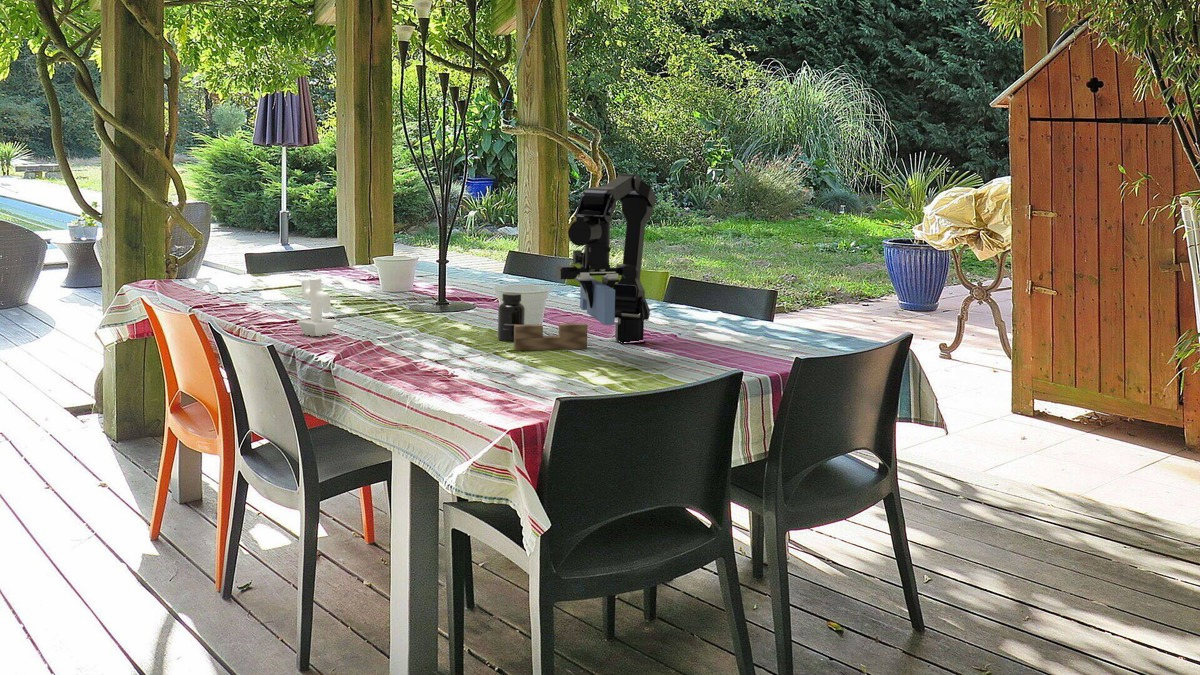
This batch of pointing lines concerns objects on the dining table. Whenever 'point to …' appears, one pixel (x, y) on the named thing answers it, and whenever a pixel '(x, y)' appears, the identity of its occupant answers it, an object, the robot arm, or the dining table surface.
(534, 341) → the walnut slotted board
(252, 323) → the dining table surface
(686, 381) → the dining table surface
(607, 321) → the slate blue tapered plate
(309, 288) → the figurine
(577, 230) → the robot arm
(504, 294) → the supplement bottle
